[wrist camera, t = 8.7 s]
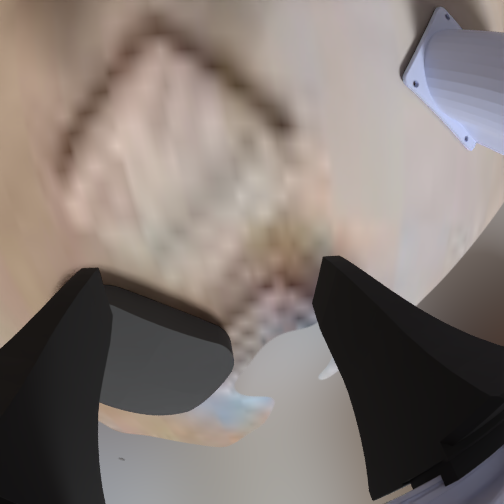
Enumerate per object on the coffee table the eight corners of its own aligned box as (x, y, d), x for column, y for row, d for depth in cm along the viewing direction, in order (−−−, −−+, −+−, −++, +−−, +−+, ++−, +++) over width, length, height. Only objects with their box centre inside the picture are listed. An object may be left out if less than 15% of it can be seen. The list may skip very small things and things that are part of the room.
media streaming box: (83, 265, 19) (71, 292, 16) (248, 331, 25) (254, 358, 23) (56, 364, 24) (50, 387, 22) (178, 403, 30) (179, 425, 28)
